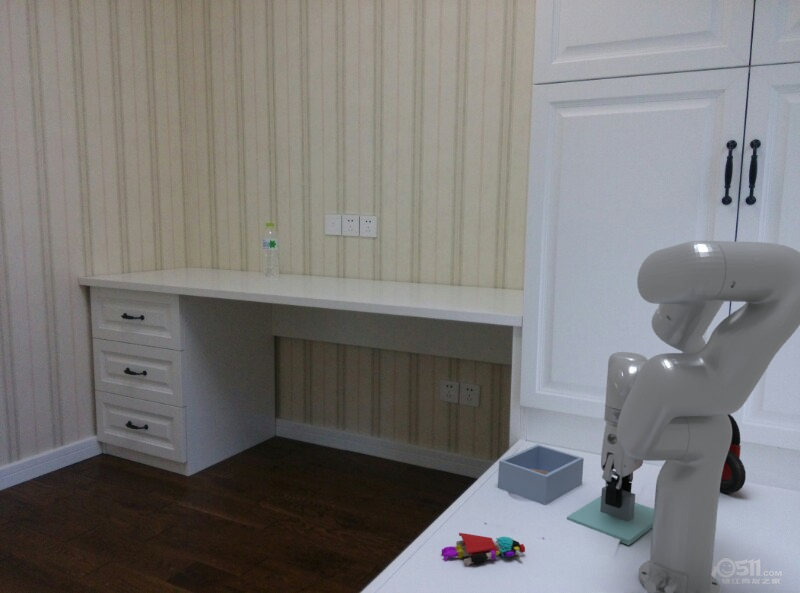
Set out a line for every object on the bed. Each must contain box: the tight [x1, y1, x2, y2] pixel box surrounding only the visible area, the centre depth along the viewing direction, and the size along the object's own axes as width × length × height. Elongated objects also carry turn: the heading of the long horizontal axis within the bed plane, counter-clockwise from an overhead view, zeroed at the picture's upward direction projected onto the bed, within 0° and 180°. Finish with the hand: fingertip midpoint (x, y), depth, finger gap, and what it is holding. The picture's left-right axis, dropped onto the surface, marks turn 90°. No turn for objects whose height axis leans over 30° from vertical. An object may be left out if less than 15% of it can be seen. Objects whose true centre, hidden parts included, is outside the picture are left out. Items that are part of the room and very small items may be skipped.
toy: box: [441, 532, 526, 567], centre depth 117 cm, size 8×4×15 cm
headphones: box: [719, 414, 747, 494], centre depth 145 cm, size 18×10×20 cm, turn 114°
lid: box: [566, 485, 654, 546], centre depth 132 cm, size 17×13×7 cm
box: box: [497, 443, 585, 506], centre depth 146 cm, size 16×12×7 cm
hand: (617, 501), depth 132 cm, fingers open, 3 cm apart
